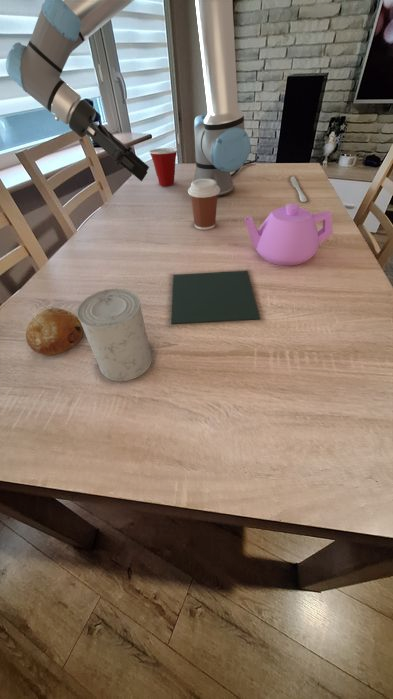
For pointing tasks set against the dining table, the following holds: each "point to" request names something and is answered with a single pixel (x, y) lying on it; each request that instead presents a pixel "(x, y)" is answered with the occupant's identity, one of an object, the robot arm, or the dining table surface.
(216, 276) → the mat
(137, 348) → the grey tin can
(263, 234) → the teapot
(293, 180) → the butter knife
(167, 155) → the plastic cup
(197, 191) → the coffee cup
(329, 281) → the dining table surface
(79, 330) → the bread roll
